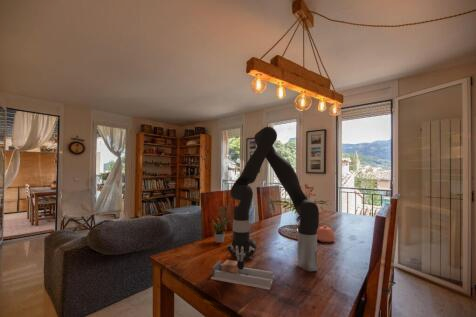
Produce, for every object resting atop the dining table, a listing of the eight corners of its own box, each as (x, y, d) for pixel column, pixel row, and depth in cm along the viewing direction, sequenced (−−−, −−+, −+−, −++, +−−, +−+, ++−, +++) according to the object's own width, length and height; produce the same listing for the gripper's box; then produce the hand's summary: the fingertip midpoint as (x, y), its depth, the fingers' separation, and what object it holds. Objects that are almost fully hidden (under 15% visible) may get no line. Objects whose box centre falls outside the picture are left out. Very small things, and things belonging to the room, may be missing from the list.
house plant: (232, 238, 153) (232, 215, 154) (232, 245, 139) (232, 219, 140) (211, 238, 153) (211, 215, 153) (209, 245, 139) (209, 219, 139)
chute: (274, 277, 99) (274, 266, 99) (269, 292, 87) (269, 279, 88) (221, 269, 107) (221, 258, 107) (210, 280, 96) (210, 269, 96)
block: (238, 272, 100) (239, 261, 101) (235, 277, 96) (235, 266, 96) (226, 270, 102) (226, 259, 103) (222, 275, 98) (222, 264, 98)
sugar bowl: (338, 244, 145) (337, 228, 145) (316, 243, 145) (316, 228, 145) (330, 238, 157) (330, 223, 157) (310, 237, 157) (310, 223, 158)
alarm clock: (256, 257, 121) (256, 228, 121) (254, 261, 116) (255, 230, 116) (237, 255, 124) (237, 226, 124) (235, 259, 118) (235, 229, 119)
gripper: (257, 228, 100) (257, 267, 99) (230, 225, 104) (229, 263, 103) (253, 233, 93) (253, 275, 92) (224, 230, 97) (223, 270, 96)
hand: (240, 268), depth 97 cm, fingers closed
